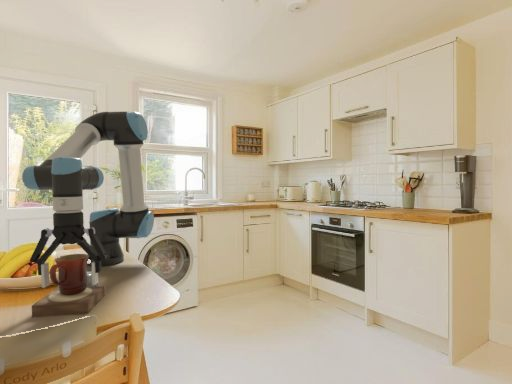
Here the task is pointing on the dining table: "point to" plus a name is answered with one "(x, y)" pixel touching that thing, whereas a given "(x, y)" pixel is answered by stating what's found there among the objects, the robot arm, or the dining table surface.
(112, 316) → the dining table surface
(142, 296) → the dining table surface
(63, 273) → the mug
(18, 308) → the dining table surface
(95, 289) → the base slab
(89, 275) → the grey rounded block
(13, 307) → the dining table surface
